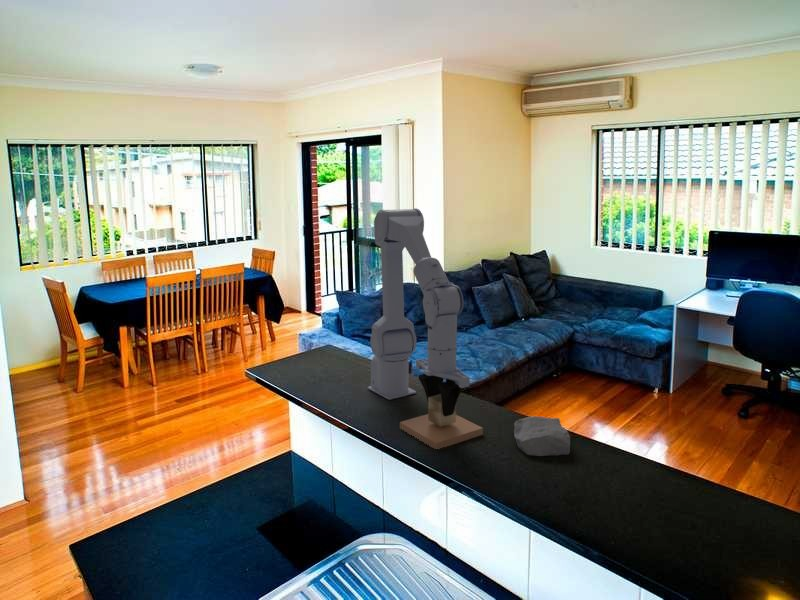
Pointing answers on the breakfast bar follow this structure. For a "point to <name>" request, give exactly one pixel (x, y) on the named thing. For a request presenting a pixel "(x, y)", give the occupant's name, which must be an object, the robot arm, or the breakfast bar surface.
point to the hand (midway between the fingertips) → (441, 411)
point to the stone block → (541, 436)
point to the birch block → (439, 412)
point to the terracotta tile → (441, 431)
